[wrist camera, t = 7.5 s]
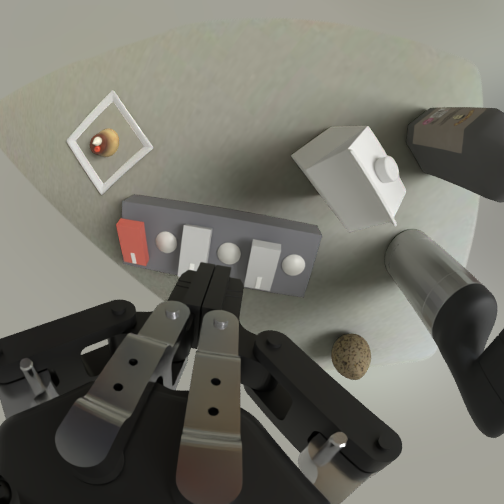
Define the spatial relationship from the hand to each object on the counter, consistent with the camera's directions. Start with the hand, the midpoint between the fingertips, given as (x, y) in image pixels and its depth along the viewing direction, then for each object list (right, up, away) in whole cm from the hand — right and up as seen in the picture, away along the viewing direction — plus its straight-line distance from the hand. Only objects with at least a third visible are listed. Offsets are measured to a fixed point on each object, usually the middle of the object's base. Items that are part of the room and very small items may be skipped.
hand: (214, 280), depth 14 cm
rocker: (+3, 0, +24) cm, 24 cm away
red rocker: (-15, +3, +23) cm, 28 cm away
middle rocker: (-6, +1, +23) cm, 24 cm away
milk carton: (+12, +14, +23) cm, 29 cm away
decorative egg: (+20, -15, +36) cm, 44 cm away
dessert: (-20, +18, +23) cm, 36 cm away
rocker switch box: (-3, +3, +28) cm, 29 cm away
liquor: (+29, +18, +20) cm, 40 cm away
